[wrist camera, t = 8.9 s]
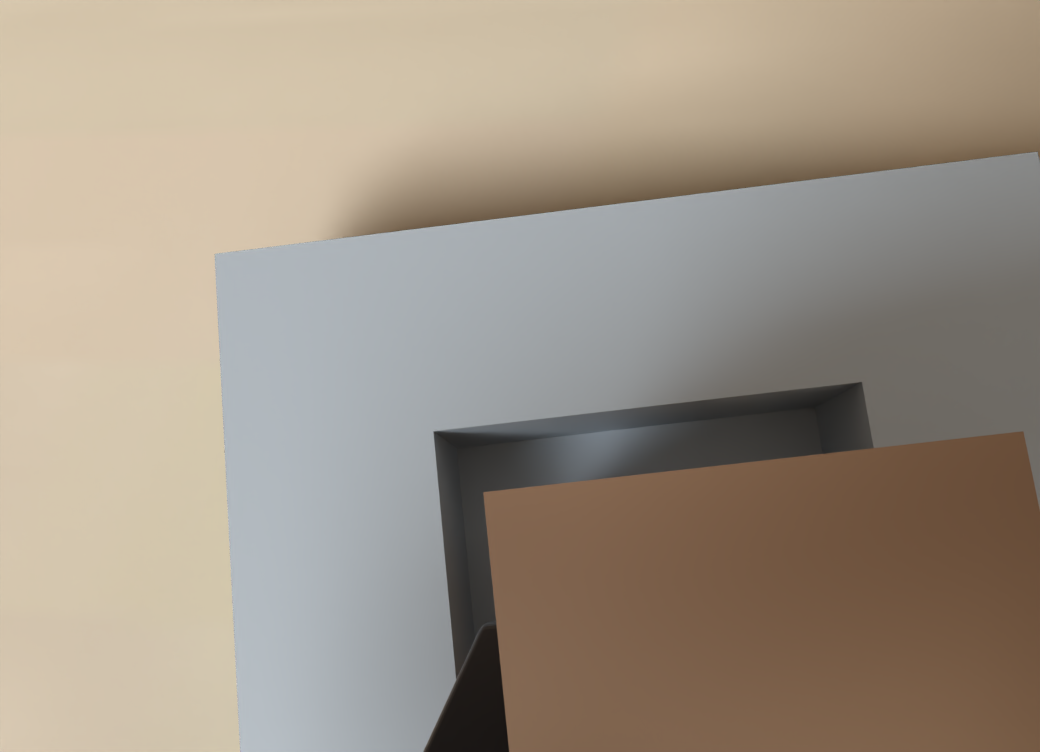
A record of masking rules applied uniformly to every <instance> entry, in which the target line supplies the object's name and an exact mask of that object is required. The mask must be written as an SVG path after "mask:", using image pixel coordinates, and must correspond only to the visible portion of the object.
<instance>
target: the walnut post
mask: <svg viewBox="0 0 1040 752" xmlns="http://www.w3.org/2000/svg"><path fill="white" fill-rule="evenodd" d="M483 496H484V506H485V516H486V526H487V535H488V545H489V555H490V565H491V575H492V585H493V595H494V605H495V615H496V625H497V635H498V645H499V655H500V665H501V675H502V685H503V695H504V705H505V715H506V725H507V735H508V745H509V752H1040V508H1039V504H1038V499H1037V494H1036V489H1035V484H1034V480H1033V475H1032V470H1031V465H1030V461H1029V456H1028V451H1027V446H1026V441H1025V437H1024V432H1023V431H1021V432H1012V433H1003V434H994V435H985V436H977V437H968V438H959V439H950V440H941V441H932V442H923V443H915V444H906V445H897V446H888V447H879V448H870V449H861V450H853V451H844V452H835V453H826V454H817V455H808V456H799V457H791V458H782V459H773V460H764V461H755V462H746V463H737V464H729V465H720V466H711V467H702V468H693V469H684V470H675V471H667V472H658V473H649V474H640V475H631V476H622V477H613V478H605V479H596V480H587V481H578V482H569V483H560V484H551V485H543V486H534V487H525V488H516V489H507V490H498V491H489V492H483Z"/></svg>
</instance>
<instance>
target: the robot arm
mask: <svg viewBox="0 0 1040 752" xmlns="http://www.w3.org/2000/svg"><path fill="white" fill-rule="evenodd" d="M423 752H509V745H508V735H507V725H506V715H505V705H504V695H503V685H502V675H501V665H500V655H499V645H498V635H497V625H496V621H495V622H488V623H485V624H484V625H483V626H482V627H481V628H480V630H479V632H478V634H477V636H476V638H475V640H474V642H473V644H472V647H471V649H470V651H469V653H468V655H467V657H466V660H465V662H464V664H463V666H462V668H461V670H460V673H459V675H458V677H457V679H456V681H455V683H454V686H453V688H452V690H451V692H450V694H449V696H448V699H447V701H446V703H445V705H444V707H443V709H442V712H441V714H440V716H439V718H438V720H437V722H436V725H435V727H434V729H433V731H432V733H431V735H430V738H429V740H428V742H427V744H426V746H425V748H424V751H423Z"/></svg>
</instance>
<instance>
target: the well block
mask: <svg viewBox="0 0 1040 752" xmlns="http://www.w3.org/2000/svg"><path fill="white" fill-rule="evenodd" d="M215 269H216V289H217V308H218V328H219V347H220V367H221V386H222V406H223V425H224V445H225V464H226V483H227V503H228V522H229V542H230V561H231V581H232V600H233V620H234V639H235V658H236V678H237V697H238V717H239V736H240V752H423V751H424V748H425V746H426V744H427V742H428V740H429V738H430V735H431V733H432V731H433V729H434V727H435V725H436V722H437V720H438V718H439V716H440V714H441V712H442V709H443V707H444V705H445V703H446V701H447V699H448V696H449V694H450V692H451V690H452V688H453V686H454V683H455V681H456V679H457V677H458V675H459V673H460V670H461V668H462V666H463V664H464V662H465V660H466V657H467V655H468V653H469V651H470V649H471V647H472V644H473V642H474V640H475V638H476V636H477V634H478V632H479V630H480V628H481V627H482V626H483V625H484V624H485V623H488V622H495V621H496V615H495V605H494V595H493V585H492V575H491V565H490V555H489V545H488V535H487V526H486V516H485V506H484V496H483V492H489V491H498V490H507V489H516V488H525V487H534V486H543V485H551V484H560V483H569V482H578V481H587V480H596V479H605V478H613V477H622V476H631V475H640V474H649V473H658V472H667V471H675V470H684V469H693V468H702V467H711V466H720V465H729V464H737V463H746V462H755V461H764V460H773V459H782V458H791V457H799V456H808V455H817V454H826V453H835V452H844V451H853V450H861V449H870V448H879V447H888V446H897V445H906V444H915V443H923V442H932V441H941V440H950V439H959V438H968V437H977V436H985V435H994V434H1003V433H1012V432H1021V431H1023V432H1024V437H1025V441H1026V446H1027V451H1028V456H1029V461H1030V465H1031V470H1032V475H1033V480H1034V484H1035V489H1036V494H1037V499H1038V504H1039V508H1040V160H1039V156H1038V152H1030V153H1022V154H1014V155H1006V156H998V157H990V158H982V159H974V160H966V161H958V162H950V163H942V164H934V165H926V166H918V167H910V168H902V169H894V170H886V171H878V172H870V173H862V174H854V175H845V176H837V177H829V178H821V179H813V180H805V181H797V182H789V183H781V184H773V185H765V186H757V187H749V188H741V189H733V190H725V191H717V192H709V193H701V194H693V195H685V196H677V197H669V198H661V199H653V200H645V201H637V202H628V203H620V204H612V205H604V206H596V207H588V208H580V209H572V210H564V211H556V212H548V213H540V214H532V215H524V216H516V217H508V218H500V219H492V220H484V221H476V222H468V223H460V224H452V225H444V226H436V227H428V228H420V229H411V230H403V231H395V232H387V233H379V234H371V235H363V236H355V237H347V238H339V239H331V240H323V241H315V242H307V243H299V244H291V245H283V246H275V247H267V248H259V249H251V250H243V251H235V252H227V253H219V254H215Z"/></svg>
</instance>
